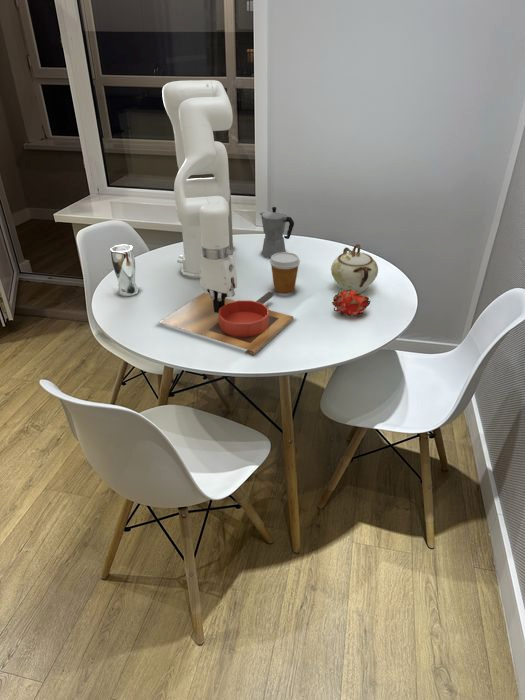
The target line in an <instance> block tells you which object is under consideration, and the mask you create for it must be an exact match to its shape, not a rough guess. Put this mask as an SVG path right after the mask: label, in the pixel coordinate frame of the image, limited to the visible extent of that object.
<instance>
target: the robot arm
mask: <svg viewBox="0 0 525 700" xmlns="http://www.w3.org/2000/svg"><path fill="white" fill-rule="evenodd" d="M161 93H162V101H163V106H164V108H165V111H166V113H167V116H168V117H169V120H170V122H171V125H172V129H173V134H174V135H173V136H174V147H175V155H176V163H177V168H178V172H177V174H176V176H175V179H174V183H173V184H174V186H173V195H174V201H175V203H174V204H175V208H176V215H177V219H178V222H179V223H180V226H181V235H182V247H183V255H182V254H180V255H178V259H176V262H177V263H178V264H181V265H182V267H181V268H180V271H181V274H182V275H183V276H186V275H187V276H192V277H199V282H200V283H199V284H200V286H201V289H202V290H204V291H205V292H207V294H210V296H211V299H212V300H213V307H214V312H215V313H216V312H217V313H219V309H220V308H221V307H222V306H224V305H225V298H226V299H227V298H233V297H235V295H236V292H235V289H237V288H238V276H237V269H236V264H235V260H234V257H233V254H234V251H233V250H232V251H231V250H230V246H229V223H228V217H229V204H228V203H229V199H230V191H231V188H230V172H229V157H228V152H227V148H226V146H225V144H224V143H223V142H221V141H217V140H216V141H215V138H214V136H215V135H214V132H219V131H222V132H223V131H228V130H230V129H231V127H232V125H233V120H234V116H233V108H232V104H231V101H230V98H229V95H228V94H227V91H226V89H225V87H224V85H223V83H222V82H220V81H219V80H216V79H202V80H201V79H198V80H197V79H196V80H193V79H192V80H190V79H189V80H188V79H187V80H176V81H175V80H174V81H171V82H167V83H166V84H165V85H163V87H162V90H161ZM198 175H201V176H202V175H214V176H215V177H214V178H212V177H203V178H202V177H199V178H198V177H197V178H190V177H191V176H198Z"/></svg>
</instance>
